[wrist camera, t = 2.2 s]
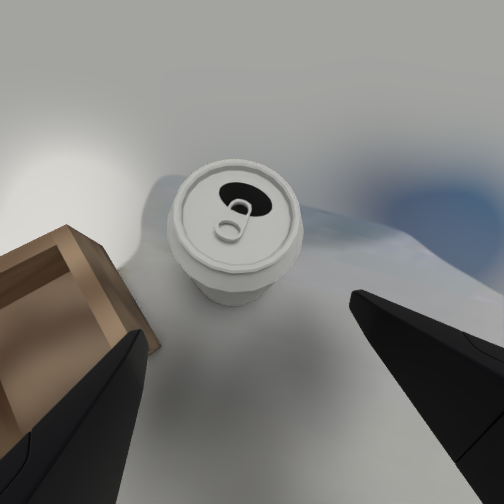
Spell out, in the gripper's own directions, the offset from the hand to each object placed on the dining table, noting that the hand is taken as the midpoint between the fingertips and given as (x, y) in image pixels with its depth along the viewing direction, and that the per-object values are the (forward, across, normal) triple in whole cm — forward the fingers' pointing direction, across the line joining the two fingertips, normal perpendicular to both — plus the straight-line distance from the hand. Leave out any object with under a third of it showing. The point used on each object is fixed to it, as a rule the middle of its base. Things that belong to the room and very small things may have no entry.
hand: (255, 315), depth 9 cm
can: (+12, 0, +5) cm, 13 cm away
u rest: (+9, +15, +7) cm, 19 cm away
